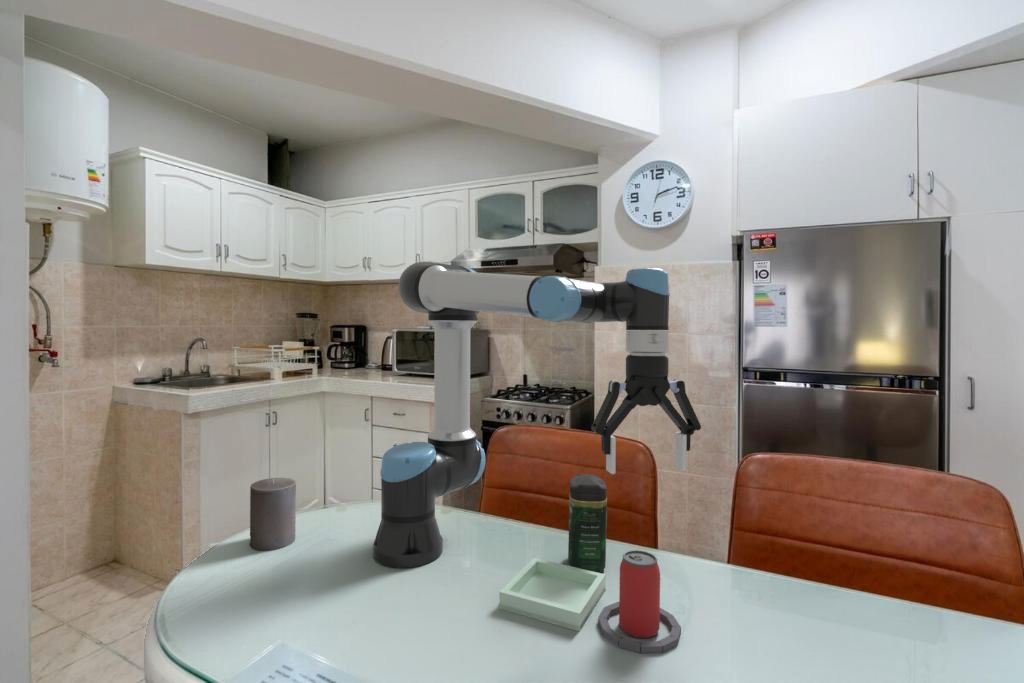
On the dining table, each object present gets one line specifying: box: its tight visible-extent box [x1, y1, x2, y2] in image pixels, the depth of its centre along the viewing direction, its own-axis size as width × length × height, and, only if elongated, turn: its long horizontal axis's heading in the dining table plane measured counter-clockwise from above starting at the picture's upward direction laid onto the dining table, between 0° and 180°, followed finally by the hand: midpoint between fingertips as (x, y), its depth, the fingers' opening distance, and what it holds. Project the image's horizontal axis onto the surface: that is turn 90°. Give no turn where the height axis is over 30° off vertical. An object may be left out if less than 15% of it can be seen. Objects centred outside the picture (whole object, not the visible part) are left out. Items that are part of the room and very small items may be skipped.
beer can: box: [618, 549, 661, 639], centre depth 85 cm, size 7×7×12 cm
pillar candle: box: [249, 477, 297, 552], centre depth 118 cm, size 10×10×15 cm
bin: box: [499, 557, 607, 632], centre depth 94 cm, size 15×15×3 cm
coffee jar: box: [567, 473, 608, 573], centre depth 108 cm, size 10×8×19 cm
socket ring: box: [597, 601, 682, 654], centre depth 85 cm, size 13×13×1 cm
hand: (646, 470), depth 93 cm, fingers open, 13 cm apart
